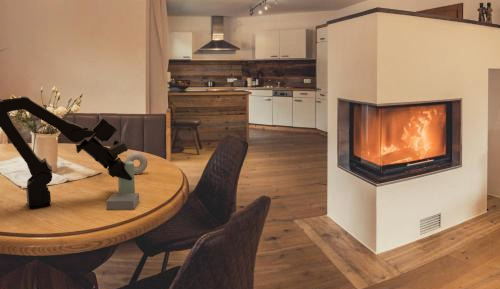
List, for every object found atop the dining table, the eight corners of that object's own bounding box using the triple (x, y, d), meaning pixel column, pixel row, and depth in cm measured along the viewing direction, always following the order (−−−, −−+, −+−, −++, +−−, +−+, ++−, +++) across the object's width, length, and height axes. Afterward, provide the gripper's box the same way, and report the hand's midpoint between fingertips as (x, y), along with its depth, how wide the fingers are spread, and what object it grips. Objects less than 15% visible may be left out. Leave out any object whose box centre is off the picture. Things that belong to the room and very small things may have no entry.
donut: (147, 172, 188) (147, 151, 187) (148, 174, 185) (147, 152, 183) (124, 173, 185) (124, 152, 183) (125, 175, 182) (124, 153, 180)
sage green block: (121, 197, 150) (119, 164, 148) (118, 194, 155) (117, 162, 153) (134, 196, 153) (133, 163, 151) (132, 192, 157) (131, 160, 155)
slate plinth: (106, 209, 138) (106, 201, 137) (113, 201, 146) (113, 193, 146) (133, 209, 138) (133, 201, 138) (139, 201, 147) (138, 193, 147)
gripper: (117, 138, 140) (150, 167, 147) (109, 131, 156) (139, 157, 163) (94, 162, 138) (129, 190, 145) (88, 152, 154) (119, 178, 161)
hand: (130, 177), depth 153 cm, fingers closed on sage green block, 5 cm apart
